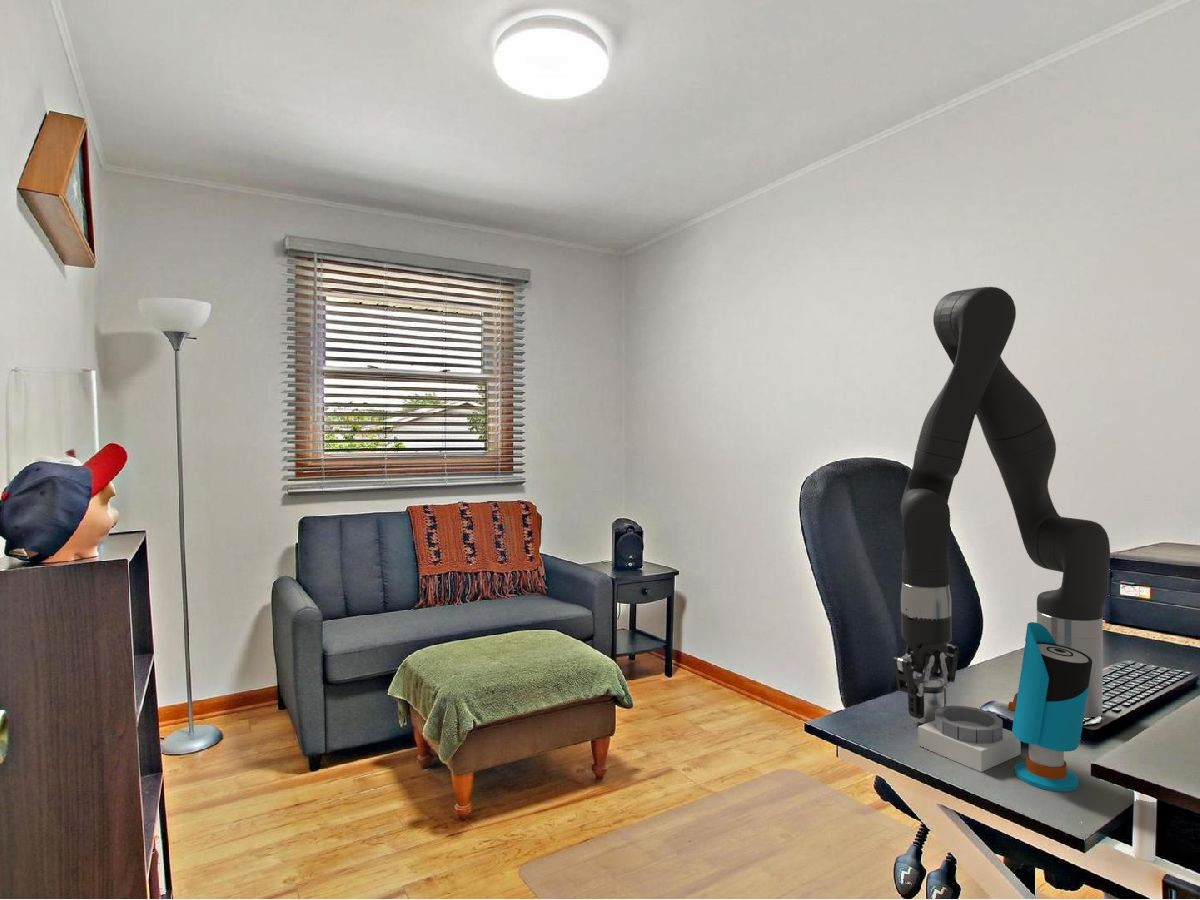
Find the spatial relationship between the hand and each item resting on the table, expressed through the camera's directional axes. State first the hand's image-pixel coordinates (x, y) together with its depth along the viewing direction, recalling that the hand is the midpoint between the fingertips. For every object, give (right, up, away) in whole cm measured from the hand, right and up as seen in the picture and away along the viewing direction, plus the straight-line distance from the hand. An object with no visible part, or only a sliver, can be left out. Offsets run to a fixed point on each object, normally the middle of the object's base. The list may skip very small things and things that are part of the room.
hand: (927, 712), depth 117 cm
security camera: (+9, -3, -18) cm, 20 cm away
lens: (0, -1, 0) cm, 1 cm away
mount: (+2, -2, -9) cm, 10 cm away
